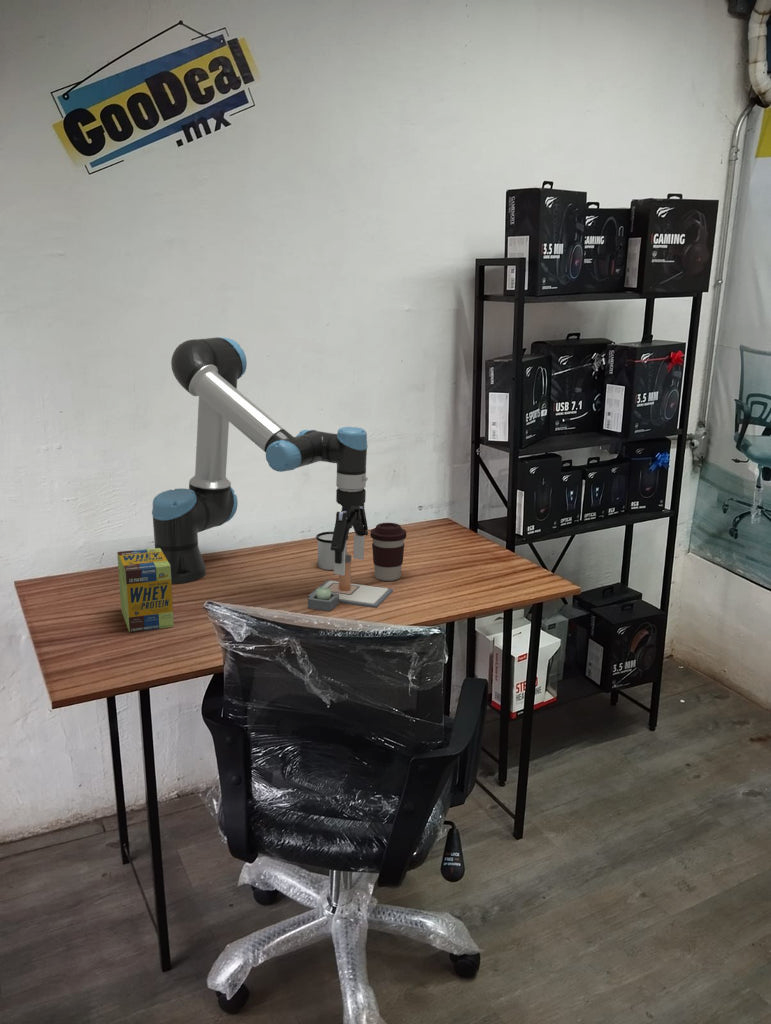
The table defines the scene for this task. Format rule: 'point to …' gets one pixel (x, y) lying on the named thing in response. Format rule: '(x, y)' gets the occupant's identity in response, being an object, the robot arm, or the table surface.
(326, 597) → the button
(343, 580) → the marker
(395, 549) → the coffee cup
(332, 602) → the button housing
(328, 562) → the mug
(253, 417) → the robot arm
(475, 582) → the table surface
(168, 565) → the protein box
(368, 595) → the picture board
